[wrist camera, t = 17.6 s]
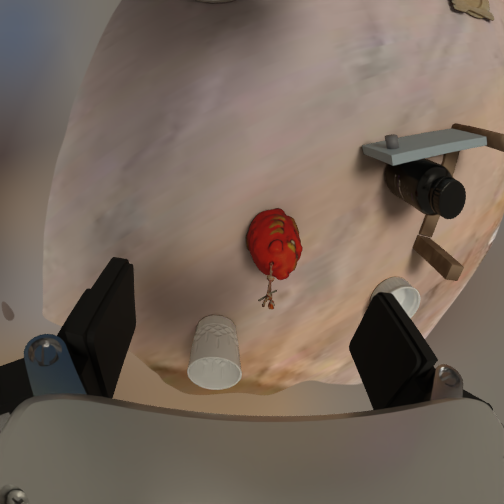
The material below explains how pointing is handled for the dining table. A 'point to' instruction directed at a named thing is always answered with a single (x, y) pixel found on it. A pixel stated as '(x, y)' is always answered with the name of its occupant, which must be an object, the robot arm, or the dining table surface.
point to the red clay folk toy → (274, 246)
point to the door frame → (425, 245)
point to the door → (422, 145)
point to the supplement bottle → (427, 187)
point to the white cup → (215, 354)
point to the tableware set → (474, 8)
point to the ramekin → (401, 293)
